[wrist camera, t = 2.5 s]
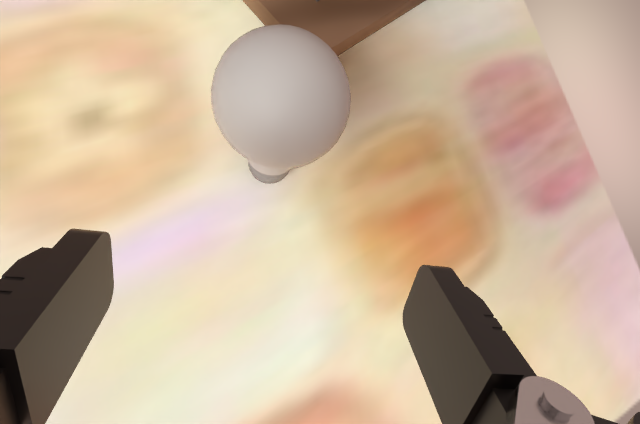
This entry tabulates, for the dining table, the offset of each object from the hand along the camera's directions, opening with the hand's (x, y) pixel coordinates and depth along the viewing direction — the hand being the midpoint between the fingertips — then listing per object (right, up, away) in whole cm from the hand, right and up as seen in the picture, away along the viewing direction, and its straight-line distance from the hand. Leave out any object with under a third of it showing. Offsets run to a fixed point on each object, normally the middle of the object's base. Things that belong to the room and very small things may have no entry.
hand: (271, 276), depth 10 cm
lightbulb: (-2, +4, +15) cm, 15 cm away
